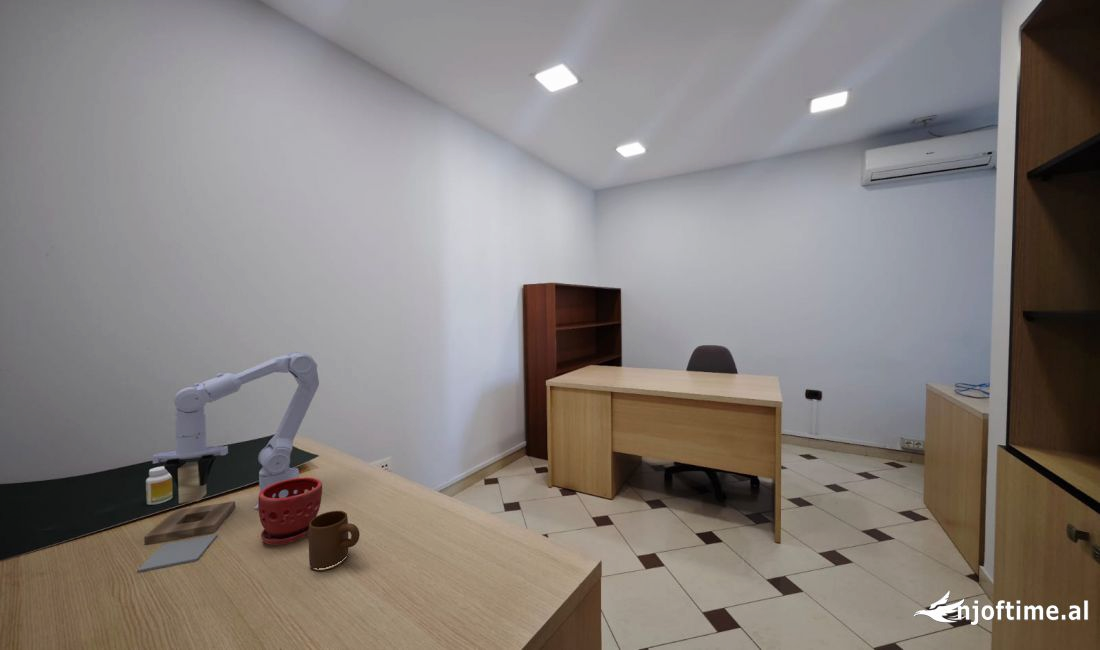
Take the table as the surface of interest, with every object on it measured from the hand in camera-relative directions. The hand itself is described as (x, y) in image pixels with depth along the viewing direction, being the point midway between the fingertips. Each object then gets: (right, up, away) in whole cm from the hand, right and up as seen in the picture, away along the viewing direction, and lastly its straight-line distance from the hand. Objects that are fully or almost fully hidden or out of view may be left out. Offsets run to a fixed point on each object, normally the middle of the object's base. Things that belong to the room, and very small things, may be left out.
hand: (192, 485), depth 98 cm
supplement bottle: (-23, -11, +14) cm, 28 cm away
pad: (+8, -11, -12) cm, 18 cm away
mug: (+46, -11, -15) cm, 50 cm away
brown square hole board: (0, -10, 0) cm, 10 cm away
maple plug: (0, -3, 0) cm, 3 cm away
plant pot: (+29, -11, -4) cm, 31 cm away
